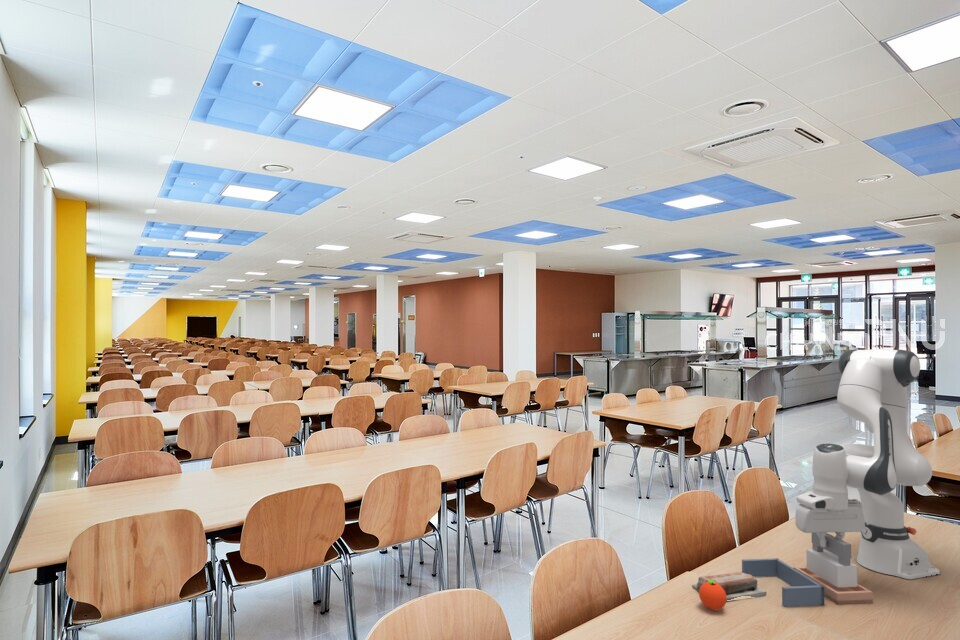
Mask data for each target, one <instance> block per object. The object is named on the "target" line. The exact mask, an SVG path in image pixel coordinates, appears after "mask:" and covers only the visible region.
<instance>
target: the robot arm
mask: <svg viewBox="0 0 960 640" xmlns="http://www.w3.org/2000/svg"><path fill="white" fill-rule="evenodd" d="M838 370H839V372H840V374H841V377H840V381H839V384H838V390H837V396H836V399H837V405H838V406H839V408H840V409H841V411H842V412H844V413H845V414H847V415H848V416H849V417H851V418H853V419H855V420H858V421H859V422H861V423H863V424H864V427H865V428H866V429H867V430H868V431H869V432H870V433H871V434H873V445H869V444H864V443H845V444H843V445H840V444H836V443H821V444H818V445H816V446H815V448H814V450H813V457H812V466H811V467H812V476H813V484H812V490H809V491H807V492H804V493H802V494H799V495H797V496H796V502H797V503H798V505H797V506H796V508H795V515H794V516H795V518H794V520H795V523H794V525H795V526H796V528H797V529H798V530H799V531H800V532H802V533H806V534H812V533H816V534H817V536H818V537H819V539H820V545H821V546H822V547H829V541H826V539H825V537H824V536H826V533H828V534H829V533H835V536H834V537H836V538H838V539H841V540H843V539H844V537H845V536H846V534H845V533H860V538H859V539H860V540H859V548H858V552H857V557H856V559H855V560H856V562H857V563H858V565H860V566H862V567H864V568H866V569H868V570H871V571H873V572H877V573H880V574H886V575H890V576H894V577H895V576H896V577H898V578H903V579H905V580H914V579H915V580H916V579H920V578H925V577H926V576H927V577H931V575H932V576H936V574H938V575H941V572H940V570H939V569H938V568H937V567H936V566H934V565H932V564H931V563H930V557H929V552H928V551H927V550H925V549H924V548H923V547H922V546H921V545H919V544H917V543H916V541H914V540H912V539H911V538H910V535H912V536H915V535H916V534H917V528H913V527H911V526H907V527H906V526H905V513H904V511H905V510H904V509H905V508H904V507H905V506H904V504H903V501H902V500H901V499H900V498H899V497H898V496H897V495H896V494H894V493H892V491H893V490H895V489H896V487H897V485H899V486H900V485H901V486H904V487H905V486H908V487H923V486H926V485H927V484H928V483H929V482H930V481H931V478H932V476H933V469H932V465H931V464H930V462H929V460H928V459H927V457H925V456H924V455H922V454H921V453H920V452H919V451H918V450H917V449H916V447H915V446H914V445H913V443H912V442H911V440H910V438H909V433H908V419H907V418H908V407H909V406H908V404H909V402H908V401H909V400H908V398H909V397H908V390H907V387H908V386H909V385H910V384H911V383H913V382H914V381H915V380H917V378H918V377H919V376H920V372H921V362H920V358H919V356H917V354H916V353H915V352H913V351H909V350H905V349H891V348H890V349H889V348H888V349H887V348H875V349H860V350H858V349H850V350H847V351H844V352H843V353H842V354H841V355H840V356H839V359H838ZM848 487H849V488H854V489H857V492H858V495H859V499H860V500H858V499H855V498H852V499H849V490H848ZM909 534H910V535H909ZM843 541H844V540H843Z"/></svg>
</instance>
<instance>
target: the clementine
mask: <svg viewBox="0 0 960 640" xmlns="http://www.w3.org/2000/svg"><path fill="white" fill-rule="evenodd" d="M698 595H699V599H700V601H701V603H702V605H704V606H705V607H706V608H707V609H709V610H712V611H719V610H722V609H723V608H725V605H726V603H727V602H726V600H727V598H726V593H725V591H724V589H723V588H722V587H721V586H720V585H719V584H717V583H716V582H714V581H712V580H706V583H704V584H702V586H701V587H700V589H699V592H698Z"/></svg>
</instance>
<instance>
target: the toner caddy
mask: <svg viewBox="0 0 960 640" xmlns="http://www.w3.org/2000/svg"><path fill="white" fill-rule="evenodd" d="M824 537H825V539H826V541H829V547H822V546H821V545H820V539H819V537H818V536H817V534H816V533H811V544H812V545H811V547H812V548H810V549H809V548H806V567H807V570H809V571H811V572H812V573H814V574H816V575H818V576H819V577H821V578H823V579H824V580H826V581H828V582H829V583H831V584H833V585H835V586H836V587H857V584H858V566H857V565H856V564H854V563H852V562H851V560H852V544H851V543H848V542H847V541H845V540H841V539H838V538H836V537H835V536H834V535H832V534H830V533H829V532H828V533H826V536H824Z"/></svg>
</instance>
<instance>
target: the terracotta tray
mask: <svg viewBox="0 0 960 640" xmlns="http://www.w3.org/2000/svg"><path fill="white" fill-rule="evenodd" d="M793 568H794V569H796V570H797V571H799V572H801V573H802V574H804V575H805V576H807V577H809V578H810V579H812V580H814V581H815V582H817V583H819V584H820V585H822V586H823V587H824V598H825V599H828V600H829V601H831V602H832V603H834V604H836V605H839V606H840V605H855V604H856V605H857V604H860V605H861V604H873V603H874V592H873V590H870V589H868V588H867V587H864V586H863V585H860V583H857V587H836V586H835V585H833V584H831V583H829V582H828V581H826V580H824V579H823V578H821V577H819V576H818V575H816V574H814V573H812V572H811V571H809V570H807V566H793Z"/></svg>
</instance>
